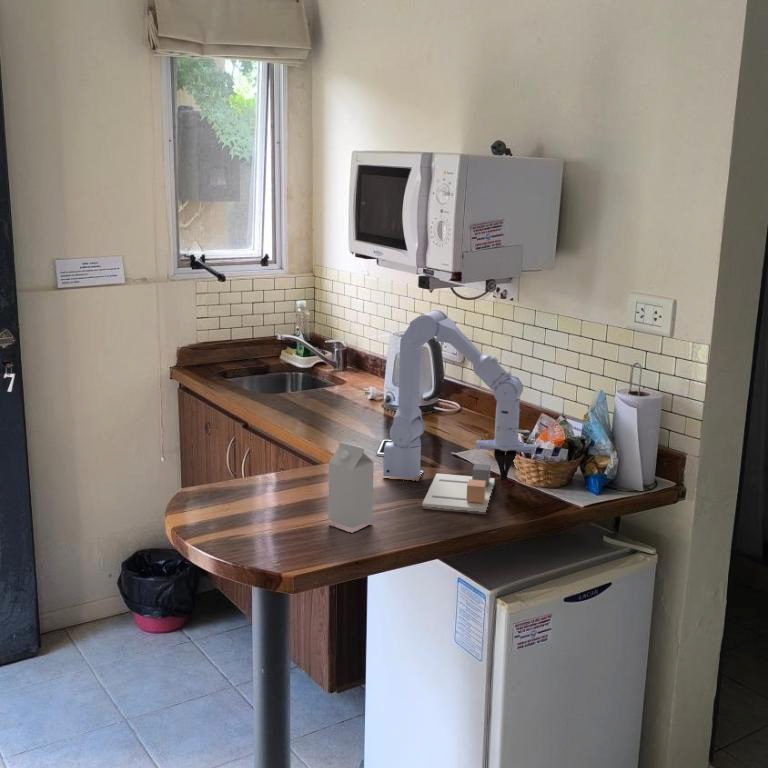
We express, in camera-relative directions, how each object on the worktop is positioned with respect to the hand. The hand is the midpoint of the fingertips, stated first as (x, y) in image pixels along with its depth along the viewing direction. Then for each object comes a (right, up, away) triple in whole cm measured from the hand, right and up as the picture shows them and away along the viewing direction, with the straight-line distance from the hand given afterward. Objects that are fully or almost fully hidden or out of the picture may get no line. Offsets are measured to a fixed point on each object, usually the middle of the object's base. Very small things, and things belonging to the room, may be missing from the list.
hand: (504, 478), depth 229 cm
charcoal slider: (-6, -1, +1) cm, 6 cm away
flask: (+5, +2, +25) cm, 25 cm away
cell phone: (-27, +5, +33) cm, 43 cm away
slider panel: (-11, -4, -3) cm, 12 cm away
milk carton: (-37, -8, -22) cm, 44 cm away
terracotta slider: (-8, -4, -10) cm, 13 cm away
